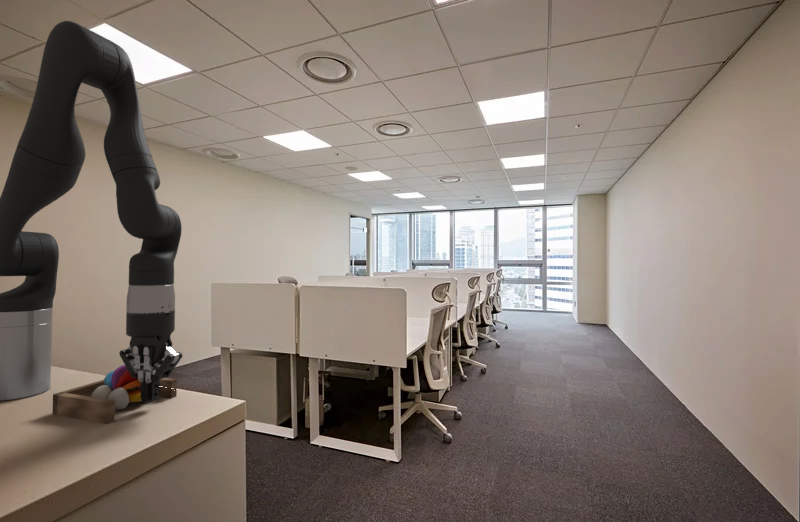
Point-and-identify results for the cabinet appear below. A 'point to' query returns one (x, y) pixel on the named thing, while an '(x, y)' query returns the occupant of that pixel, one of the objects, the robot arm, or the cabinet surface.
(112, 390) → the rainbow disc stack
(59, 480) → the cabinet surface
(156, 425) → the cabinet surface
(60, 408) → the bay
